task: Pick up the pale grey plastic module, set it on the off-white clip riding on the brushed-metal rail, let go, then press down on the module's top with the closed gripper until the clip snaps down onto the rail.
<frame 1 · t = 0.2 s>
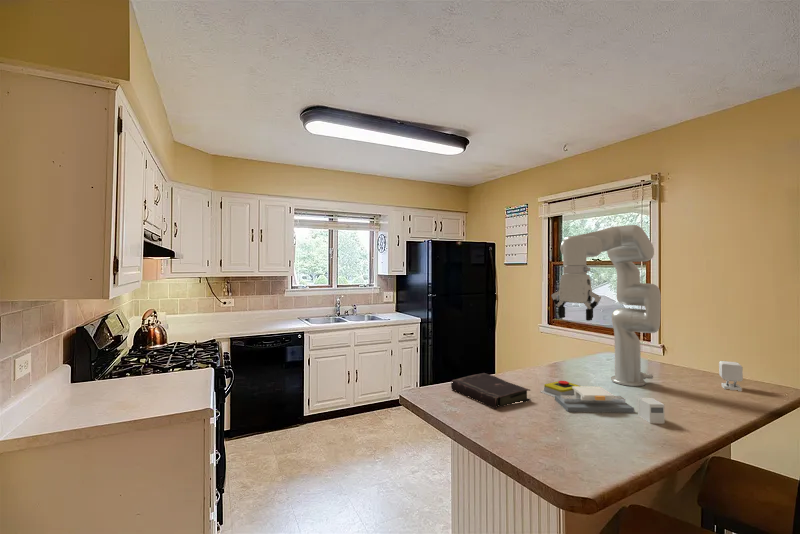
hand: (575, 319, 134), 31 cm above the countertop, tool pointing down, fingers open, 9 cm apart
diary: (489, 396, 146), on the countertop
security camera: (731, 388, 153), on the countertop
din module: (651, 419, 121), on the countertop
rail mount: (592, 405, 134), on the countertop
emergency button: (561, 393, 149), on the countertop
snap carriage: (593, 394, 133), point 4 cm above the countertop, slide at 0.0 cm
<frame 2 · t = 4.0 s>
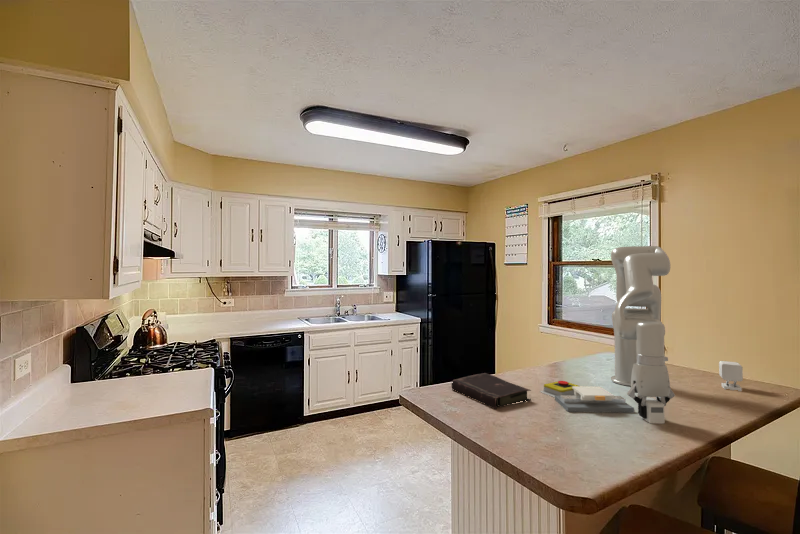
hand: (651, 416, 121), 1 cm above the countertop, tool pointing down, fingers closed on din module, 4 cm apart
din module: (651, 419, 121), on the countertop, touching gripper
everything else where it was.
when the fingers open (8 cm above the countertop, at t = 8.9 s): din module drops 3 cm, resting on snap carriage.
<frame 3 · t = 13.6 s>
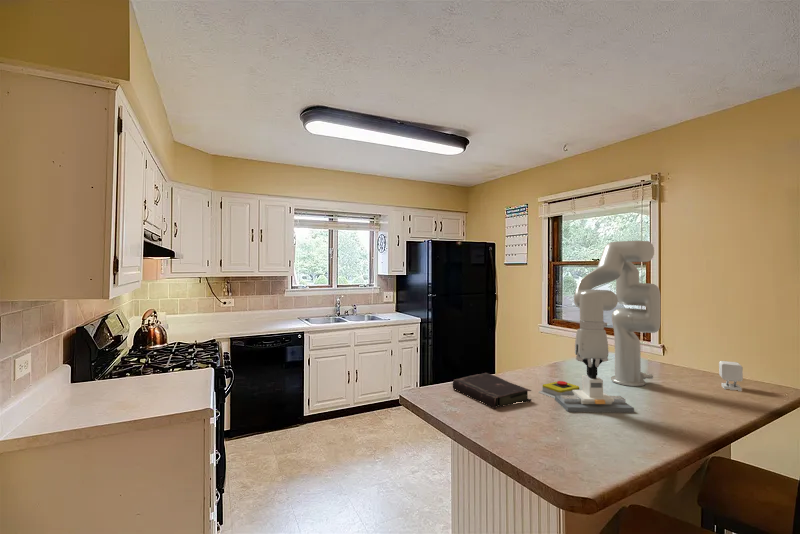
hand: (592, 377, 134), 10 cm above the countertop, tool pointing down, fingers closed
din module: (592, 394, 134), point 4 cm above the countertop, touching gripper, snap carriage
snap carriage: (593, 398, 133), point 3 cm above the countertop, slide at 1.3 cm, touching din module
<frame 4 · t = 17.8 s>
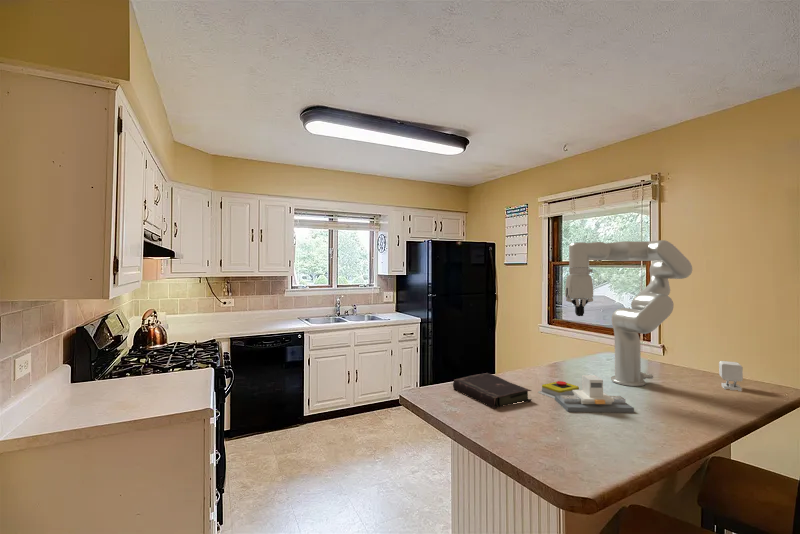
hand: (579, 315, 158), 29 cm above the countertop, tool pointing down, fingers closed
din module: (592, 394, 134), point 4 cm above the countertop, touching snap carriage
at the end: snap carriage slide at 1.3 cm; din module 0.0 cm off-centre on the rail mount, point 4.0 cm above the rail mount's base; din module tilted 0° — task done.
